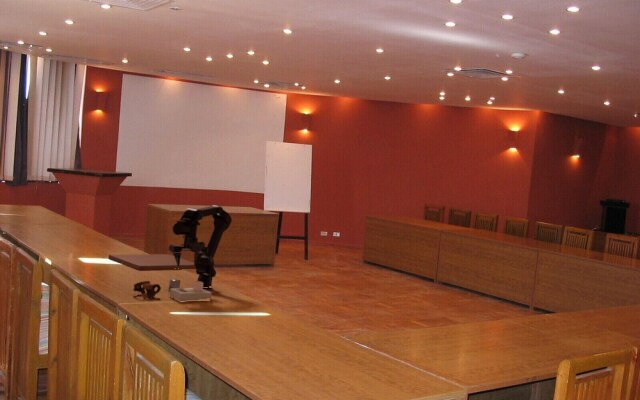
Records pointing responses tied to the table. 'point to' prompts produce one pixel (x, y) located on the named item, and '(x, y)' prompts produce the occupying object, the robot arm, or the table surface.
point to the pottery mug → (147, 289)
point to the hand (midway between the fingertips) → (186, 266)
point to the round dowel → (174, 284)
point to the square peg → (198, 286)
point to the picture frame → (152, 261)
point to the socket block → (188, 294)
